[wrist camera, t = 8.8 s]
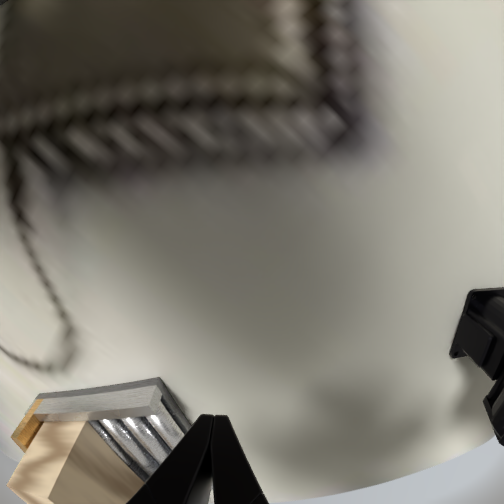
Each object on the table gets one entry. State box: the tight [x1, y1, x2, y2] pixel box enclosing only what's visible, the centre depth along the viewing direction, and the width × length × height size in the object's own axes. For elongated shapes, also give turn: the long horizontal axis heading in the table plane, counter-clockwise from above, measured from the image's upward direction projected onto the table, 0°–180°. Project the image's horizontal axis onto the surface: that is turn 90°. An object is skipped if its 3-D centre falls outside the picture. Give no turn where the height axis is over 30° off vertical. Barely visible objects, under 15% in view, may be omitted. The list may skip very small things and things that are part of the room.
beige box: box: [7, 421, 145, 504], centre depth 18 cm, size 6×10×9 cm, turn 19°
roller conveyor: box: [11, 377, 213, 490], centre depth 22 cm, size 16×13×7 cm
